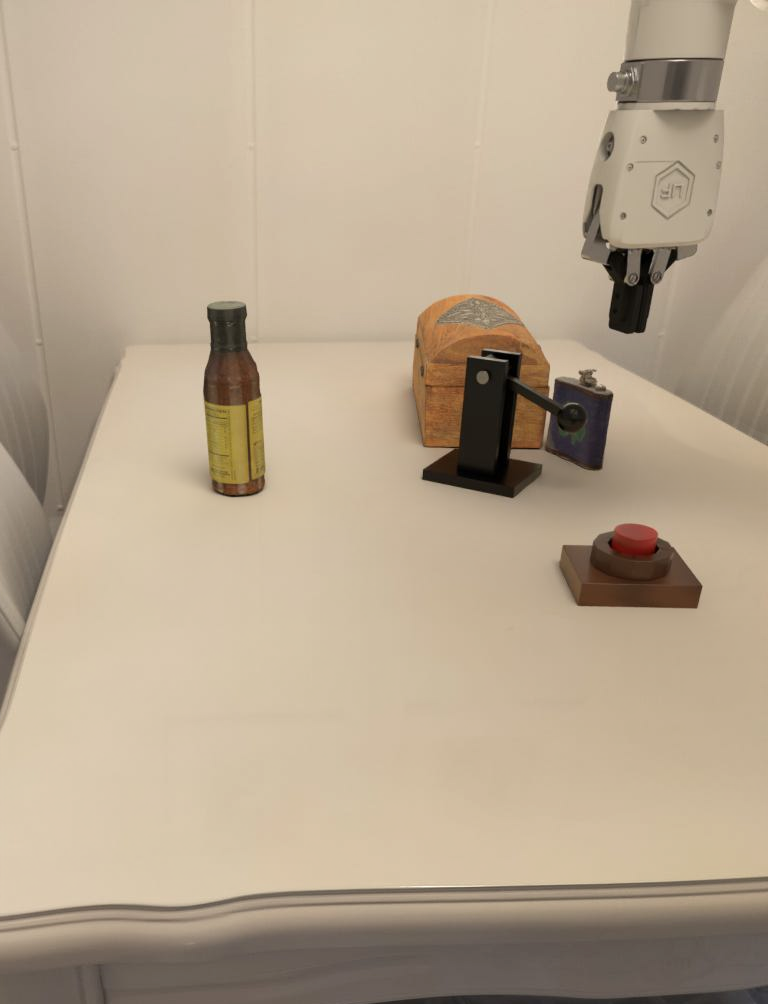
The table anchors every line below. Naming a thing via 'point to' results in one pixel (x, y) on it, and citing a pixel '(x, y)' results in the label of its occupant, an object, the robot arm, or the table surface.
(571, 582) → the button block
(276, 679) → the table surface
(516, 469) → the bracket
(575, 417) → the lever
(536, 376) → the wooden box
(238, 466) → the sauce bottle
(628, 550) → the button
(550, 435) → the flask
